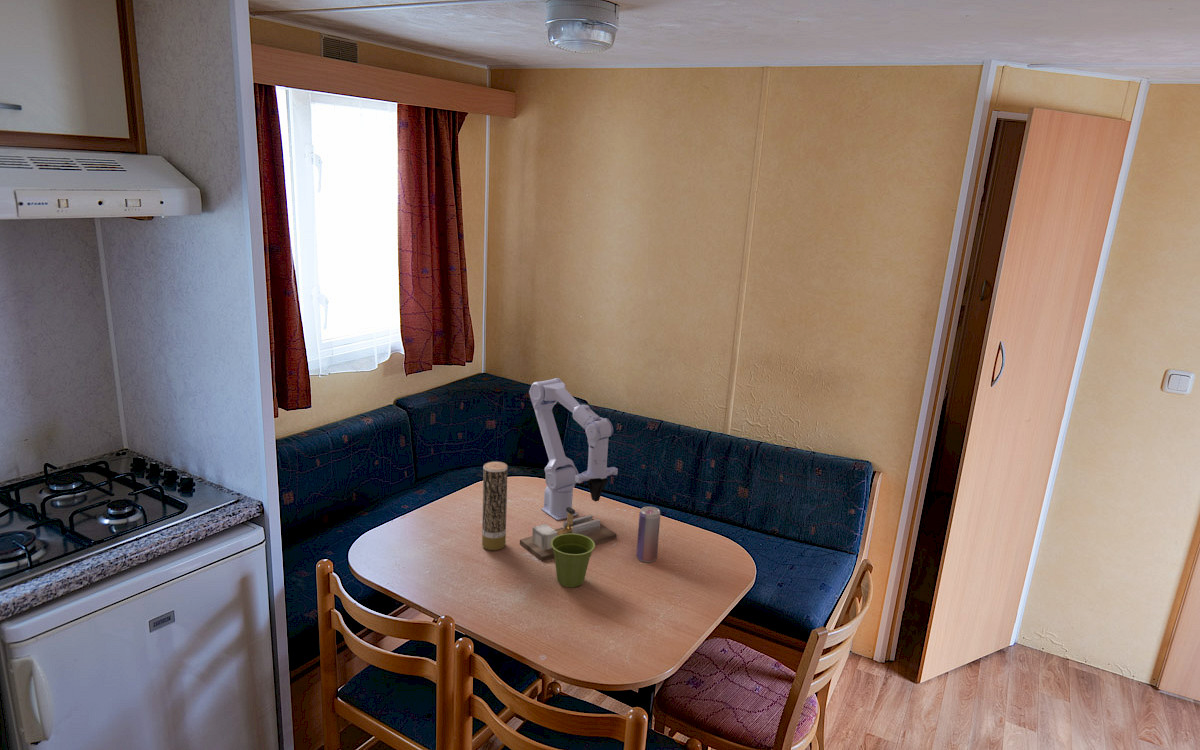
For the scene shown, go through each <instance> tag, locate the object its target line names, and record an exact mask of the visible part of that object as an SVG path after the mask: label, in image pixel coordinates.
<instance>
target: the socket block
mask: <svg viewBox="0 0 1200 750" xmlns="http://www.w3.org/2000/svg"><path fill="white" fill-rule="evenodd" d="M555 530H556V529H553V528H552V527H551V526H549V525H548V524H547V523H544V524H540V525H536V526H533V527H532V534H531V536H532V542H534V543H535V544H536V545H538V546H539V547H540V548H542V549H543V550H547V549H551V548H552V546H551V541H552V539H553V538H554V537H556V536H558V532H556V531H555Z"/></svg>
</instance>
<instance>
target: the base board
mask: <svg viewBox="0 0 1200 750" xmlns="http://www.w3.org/2000/svg"><path fill="white" fill-rule="evenodd" d="M592 520H595V518H592ZM561 529H564V526H563V527H560V528H557V529H554V530H555V531H557V530H561ZM617 536H618V534H617V533H616V532H615V531H613V530H611V529H610V528H608V527H606V526H605V525H604V524H602V523H601V522H600V529H599V533H596V534H592V535H589V536H587V537H589V538H591V539H592V540H593V541H594V543H595V546H598V545H600V544H604V543H607V542H609V541H613V540H616V539H617ZM519 545H520V546H521V547H523V548H524V549H525V550H527V551H528V552H529V553H530V554H532V555H533V556H534V557H535V558H536V559H538V560H539V561H540V560H541V561H540V562H545V561H547V560H551V559H555V555H554V552H553V548H551V549H547V550H543V549H542V548H540V547H539V546H538V545H536V544H535V543H534V542H532V535H531V536H528V537H524V538H521V539H519Z"/></svg>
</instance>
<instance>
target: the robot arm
mask: <svg viewBox="0 0 1200 750" xmlns="http://www.w3.org/2000/svg"><path fill="white" fill-rule="evenodd" d="M528 394H529V397H530V401H531V405H532V407H533V409H534V413H535V417H536V421H537V424H538V427H539V431H540V434H541V437H542V440H543V444H544V447H545V451H546V454H547V458H548V462H547V465H546V466H545V467H544V473H545V479H544V480H545V484H546V487H545V489H544V495H543V497H544V500H543V507H541V510H542V511H543V512H545V514H547V515H549V516H550V517H551V518H553V519H554V520H556V521H561V520H564V519H567V513H568V512H567V511H566V508H567V507H570V508H572V509H573V496H574V495H573V493H574V488H576V487H575V486H576V484H581V483H582V482H586V483H587V486H588V489H589V492H590V497H591V500H592V501H594V502H596V503H597V502H599V501H600V499H601V495H602V493H603V491H604V488H605V487H606V485H607V484H608V481H609V480H608V479H607V478H608V477H609V476H612V475H613V476H617V475H618V470H619V469H618V468H617V467H615V466H611V467H608V466H607V465H608V453H609V452H608V449H609V437H611V436H612V435H613V433H614V426H613V424H612V422H611V421H610V419H609V418H606V417H604V418H603V417H602V416H601V417H600V416H599V415H598V414H597V413H595V411H593V410H592V409H591V407H590V406H589V405H588V404H581V403H579V401H578V400H577V399H576V398H575V397H573V396H572V394H571V393H570V392H569V391H568V390H567V387H566V384H565V382H563V381H562V380H561V379H560V378H558V377H555V378H552V379H547V380H546V379H545V380H542V381H534V382H533V383H532V384H531V386H530V388H529V390H528ZM557 403H559V404H560V405H562V406H563V407H564V408H566V409H567V410H568V411H569V412H570V413H572V419H573V420H574V421H575V422H576V423H577V424H578V425H580V426H581V428H583V429H584V430H585V435H586V437H587V445H588V455H587V470H585V471H583V472H581V473H579V471H578V469H577V467H576V466H575V463H574V461H573V460H572V459H571V458H569V457H567V456H566V454H565V453H566V452H565V451H564V447H563V444H562V440H561V437H560V433H559V430H558V427H557V423H556V420H555V417H554V413H553V408H554V406H555V405H556V404H557ZM577 515H578V513H577V512H576V511H575V514H573V517H575V516H577Z"/></svg>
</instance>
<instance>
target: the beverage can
mask: <svg viewBox="0 0 1200 750" xmlns="http://www.w3.org/2000/svg"><path fill="white" fill-rule="evenodd" d="M638 516H639V517H638V527H637V528H638V530H637V543H636V555H635V556H636V558H637V559H638V561H641V562H642V563H653V562H654V561H656V559H657V558H658V551H659V538H660V537H659V535H660V523H661V510H660V509H659V508H657V507H654V506H651V505H650V506H643V507H642V508H640V511H639V515H638Z"/></svg>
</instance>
